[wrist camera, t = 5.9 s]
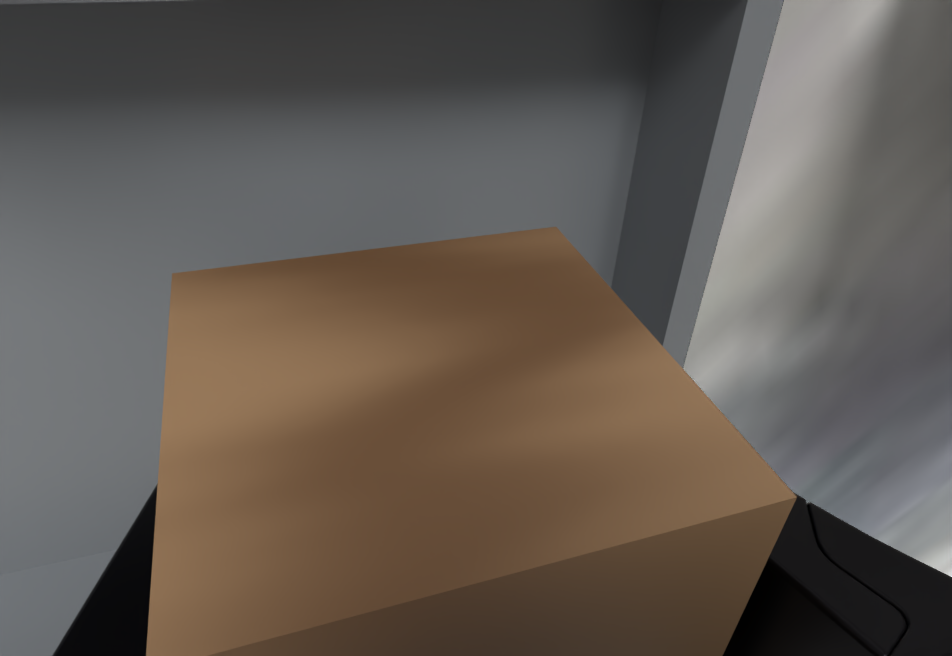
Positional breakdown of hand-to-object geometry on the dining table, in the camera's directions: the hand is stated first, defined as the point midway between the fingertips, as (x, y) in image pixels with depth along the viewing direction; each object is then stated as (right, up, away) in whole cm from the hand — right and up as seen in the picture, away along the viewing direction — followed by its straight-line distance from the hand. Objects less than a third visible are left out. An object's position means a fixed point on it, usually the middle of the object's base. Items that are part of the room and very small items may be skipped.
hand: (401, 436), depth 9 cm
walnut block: (0, +1, +1) cm, 1 cm away
